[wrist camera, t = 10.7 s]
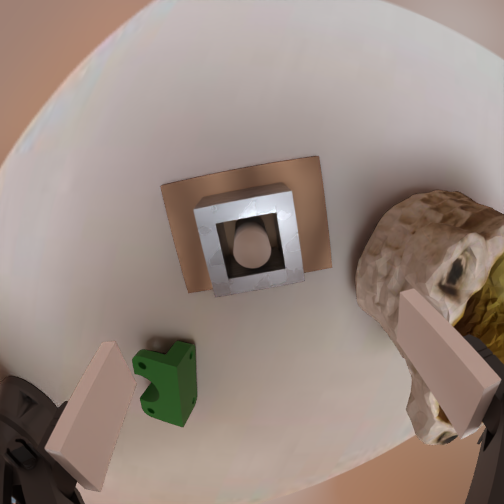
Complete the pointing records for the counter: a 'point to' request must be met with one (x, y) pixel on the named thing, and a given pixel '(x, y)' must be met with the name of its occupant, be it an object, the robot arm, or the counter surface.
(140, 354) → the clamp
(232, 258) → the collar
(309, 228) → the post board
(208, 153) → the counter surface
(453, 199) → the ceramic vessel
